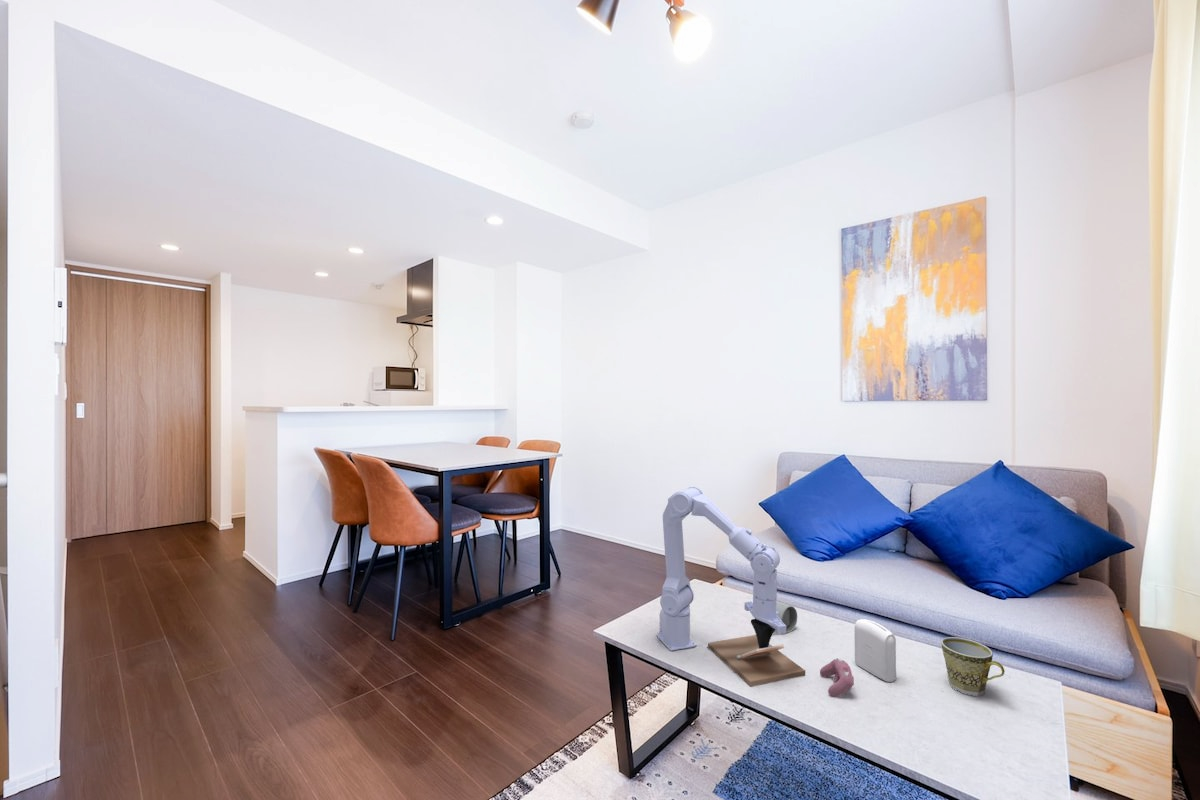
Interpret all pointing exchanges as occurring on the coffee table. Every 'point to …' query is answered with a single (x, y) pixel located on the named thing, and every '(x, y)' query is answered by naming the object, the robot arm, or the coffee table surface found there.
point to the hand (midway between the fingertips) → (763, 648)
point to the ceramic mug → (787, 615)
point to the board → (755, 661)
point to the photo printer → (875, 649)
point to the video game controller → (838, 676)
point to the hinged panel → (760, 651)
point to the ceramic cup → (968, 665)
